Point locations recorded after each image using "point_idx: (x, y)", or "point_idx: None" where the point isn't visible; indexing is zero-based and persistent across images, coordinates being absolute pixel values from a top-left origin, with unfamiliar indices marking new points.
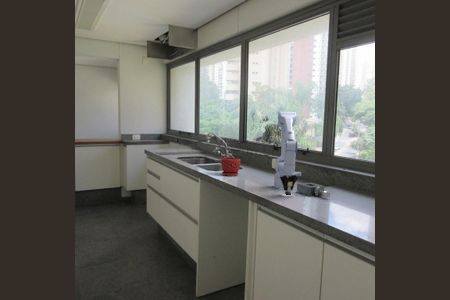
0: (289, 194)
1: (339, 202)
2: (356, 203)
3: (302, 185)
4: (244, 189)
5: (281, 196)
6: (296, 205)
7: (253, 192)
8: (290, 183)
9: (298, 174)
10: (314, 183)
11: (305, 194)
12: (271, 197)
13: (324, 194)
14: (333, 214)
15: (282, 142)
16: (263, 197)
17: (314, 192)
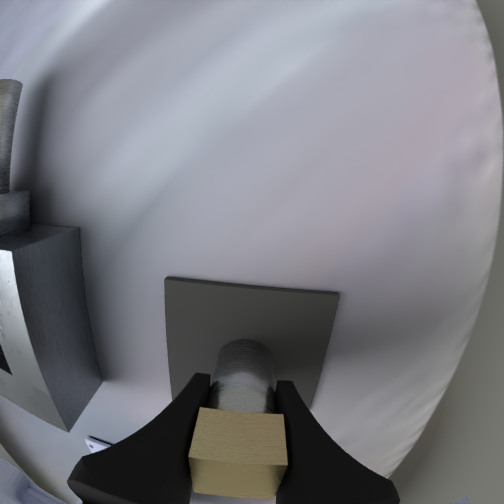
0: (247, 344)
1: (38, 26)
2: (6, 16)
3: (43, 372)
4: None
5: (329, 352)
6: (428, 50)
7: (391, 457)
8: (231, 441)
9: (28, 499)
10: None
11: (77, 284)
12: (425, 345)
13: (12, 101)
14: None
15: None
16: (459, 356)
17: (18, 214)
